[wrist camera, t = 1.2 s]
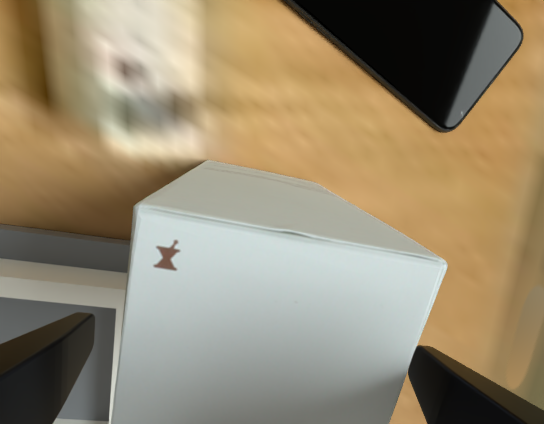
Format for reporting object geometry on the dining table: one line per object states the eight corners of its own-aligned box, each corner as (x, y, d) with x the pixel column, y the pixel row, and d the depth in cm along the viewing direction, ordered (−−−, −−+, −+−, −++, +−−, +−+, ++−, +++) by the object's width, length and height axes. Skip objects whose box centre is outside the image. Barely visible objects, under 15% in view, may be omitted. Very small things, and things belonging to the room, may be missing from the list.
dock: (163, 447, 23) (152, 488, 20) (-77, 435, 21) (-125, 480, 18) (186, 247, 19) (176, 265, 17) (-98, 211, 17) (-162, 224, 15)
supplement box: (185, 269, 20) (87, 483, 7) (206, 156, 18) (125, 191, 6) (294, 288, 21) (367, 504, 8) (322, 182, 19) (461, 258, 7)
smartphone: (521, 37, 19) (331, -158, 15) (533, 33, 18) (337, -174, 15) (441, 139, 20) (250, -24, 16) (450, 139, 19) (250, -32, 16)
